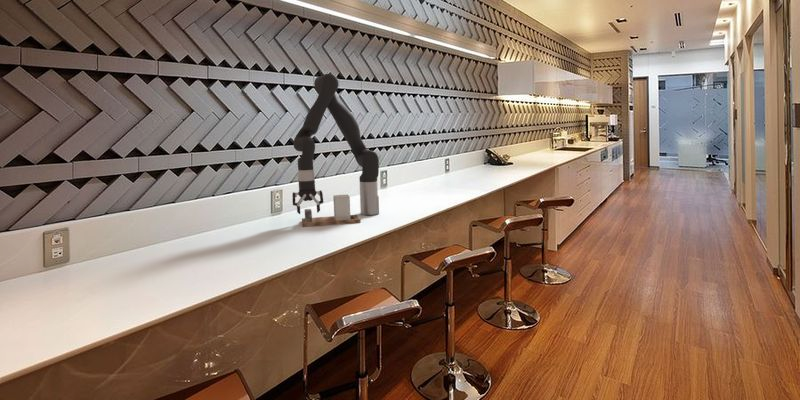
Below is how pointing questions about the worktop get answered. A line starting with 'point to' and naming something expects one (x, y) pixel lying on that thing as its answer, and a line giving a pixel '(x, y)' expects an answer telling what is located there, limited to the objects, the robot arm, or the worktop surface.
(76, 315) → the worktop surface
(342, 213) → the supplement box
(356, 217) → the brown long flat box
